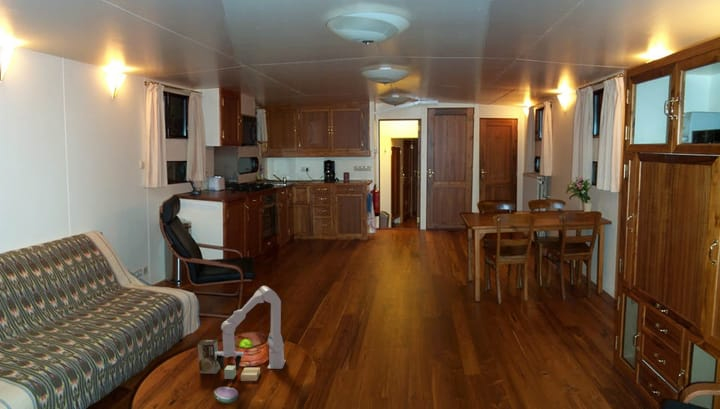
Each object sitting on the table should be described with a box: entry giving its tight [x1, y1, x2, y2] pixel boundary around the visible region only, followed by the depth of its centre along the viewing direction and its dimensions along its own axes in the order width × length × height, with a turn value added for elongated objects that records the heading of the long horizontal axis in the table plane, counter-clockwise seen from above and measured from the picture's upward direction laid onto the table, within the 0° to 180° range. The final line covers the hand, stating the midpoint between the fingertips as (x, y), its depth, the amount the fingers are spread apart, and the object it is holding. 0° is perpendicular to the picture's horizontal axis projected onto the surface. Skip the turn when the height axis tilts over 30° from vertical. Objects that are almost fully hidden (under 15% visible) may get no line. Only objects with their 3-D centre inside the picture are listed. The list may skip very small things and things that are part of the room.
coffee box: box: [197, 339, 221, 375], centre depth 263 cm, size 9×6×16 cm
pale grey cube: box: [223, 365, 237, 380], centre depth 257 cm, size 5×5×5 cm
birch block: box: [240, 367, 261, 382], centre depth 256 cm, size 8×8×4 cm
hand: (230, 369), depth 256 cm, fingers open, 7 cm apart
